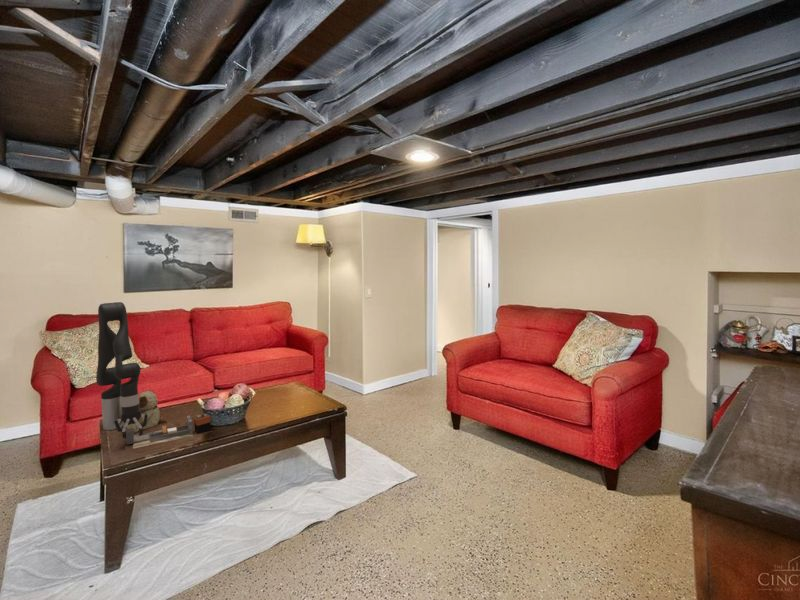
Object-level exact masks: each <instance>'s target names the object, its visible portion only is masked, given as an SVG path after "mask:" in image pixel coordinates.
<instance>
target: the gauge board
mask: <svg viewBox="0 0 800 600" xmlns="http://www.w3.org/2000/svg"><path fill="white" fill-rule="evenodd" d="M175 427H176V429H177V432H174V433H169V434H164V435H159V436H154V437H150V438H147V439H142V440H137V441H134V443H132V449H137V448H141V447H142V448H143V447H147V446H150V445H156V444H161V443H166V442H171V441H175V440H180V439H184V438H189V437H194V432H193V431H194V429H193V419H192V417H191V415H187V416H186V424H185V425H179V426H174V427H173V428H175ZM170 428H171V427H169V428H166V430H167V429H170ZM160 430H161V429H158V430H157V431H160ZM154 431H155V430H153V431H152V432H154Z"/></svg>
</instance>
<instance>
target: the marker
mask: <svg viewBox="0 0 800 600" xmlns="http://www.w3.org/2000/svg"><path fill="white" fill-rule="evenodd" d="M174 427H175V428H174ZM174 427H169V428H170V429H169V428H166V429H167V434H169V433H174V432H177V429H176V427H177V426H174Z"/></svg>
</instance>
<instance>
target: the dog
mask: <svg viewBox="0 0 800 600" xmlns="http://www.w3.org/2000/svg"><path fill="white" fill-rule="evenodd" d="M138 396H139V405H140V413H141V414H145V413H147V414H148V417H147V424H146V426H145V427H143V428H142V430H147V429H150V428H153V427H155V426H158V425H163V424H167V423H168V419H167V418H163V419H161V417H160V416H161V412H160V407H159V406H158V404H159V401H158V398H157V395H156V394H155V392H154V391H153V390H144V391H143V392H140V394H139V395H138ZM139 421H140V423H141V425H142V424H143V423H144V419H143V417H142V416H141V417H140V419H139ZM130 428H133V432H134V434H135V433H137V432H138V433H139V427H138V425H137V424H130V425H127V427H126V429H130Z"/></svg>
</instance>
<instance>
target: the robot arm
mask: <svg viewBox="0 0 800 600" xmlns="http://www.w3.org/2000/svg"><path fill="white" fill-rule="evenodd" d="M97 312H98V313H97V314H98V316H97V317H98V344H97V366H96V367H97V368H96V384H97V386H100V387H103V386H105V387H106V386H110V385H112V386H111V387H109V388H107V389H106V390H104V391H102V392H101V394H100V399H101V401H100V402H101V414H102V428H103V430H104V431H113V430H116V431H117V432H118V433H119V432H121V434H122V439H123V440H126V427H127V425H130V424H137V425H138V427H139V431H138V433H139V434H138V435H139V436H141V434H144V433H143V432H144V431H143V429H142V428H143V427H145V426H146V424H147V417H148V414H147V413H145V414H141V413H140V405H139V396H140V395H139V391H138V388H139V387H138V384H139V378H140V374H141V366H140V364H139V363H138V362H129V363H124V364H123V362H125V361H127V360H130V359H132V358H133V351H132V346H131V342H130V339H129V338H130V335H129V323H128V314H127V309H126V305H125V304H124V303H123V302H121V301H119V302H103V303H101V304H99V306H98V310H97ZM115 321H119V327H118V330H117V333H116V332H114V331H113V330H112V329H111V327H110V326H109V325H108V322H115ZM113 360H115V361H114V367H108V365H110V363H111V362H112V361H113ZM125 379H129V380H128V381H126V382H124V383H122V380H125ZM141 416H142V417H143V419H144V423H143V424H142V425H141V423H140V421H139V419H140V417H141Z"/></svg>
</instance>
